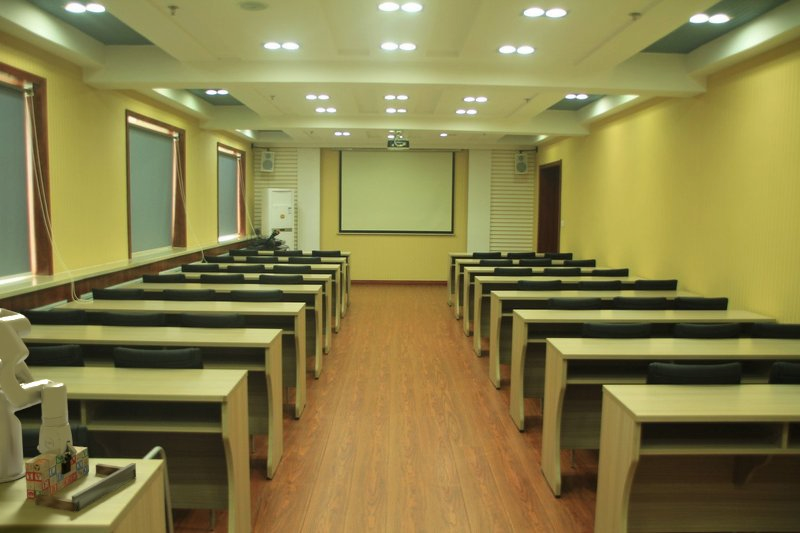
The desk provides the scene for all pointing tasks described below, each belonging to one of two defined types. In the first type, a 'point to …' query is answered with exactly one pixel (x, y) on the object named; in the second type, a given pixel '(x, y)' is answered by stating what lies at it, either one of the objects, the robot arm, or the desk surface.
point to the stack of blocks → (53, 472)
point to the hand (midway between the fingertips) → (57, 471)
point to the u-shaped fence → (91, 488)
